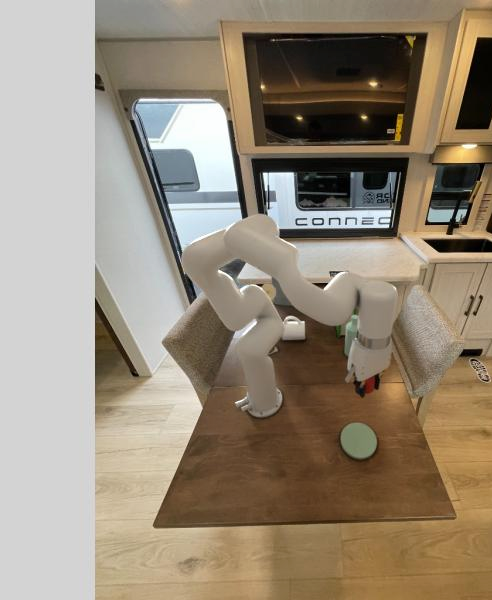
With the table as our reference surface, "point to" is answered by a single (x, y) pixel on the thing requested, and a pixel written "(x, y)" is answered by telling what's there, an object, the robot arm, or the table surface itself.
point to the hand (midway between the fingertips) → (366, 389)
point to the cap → (370, 385)
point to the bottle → (350, 334)
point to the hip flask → (280, 294)
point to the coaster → (358, 440)
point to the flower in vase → (269, 290)
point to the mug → (293, 329)
